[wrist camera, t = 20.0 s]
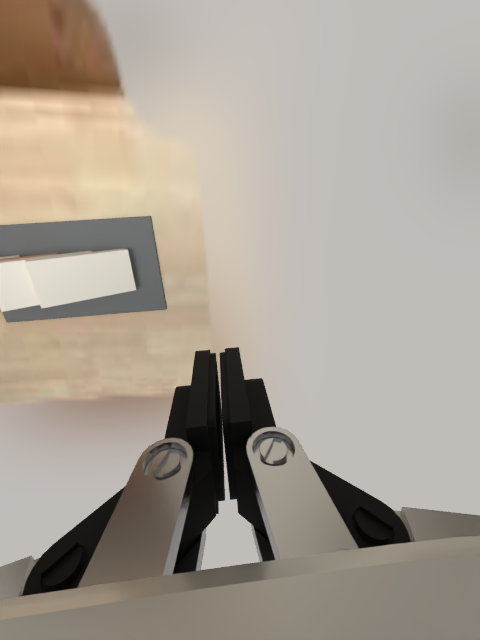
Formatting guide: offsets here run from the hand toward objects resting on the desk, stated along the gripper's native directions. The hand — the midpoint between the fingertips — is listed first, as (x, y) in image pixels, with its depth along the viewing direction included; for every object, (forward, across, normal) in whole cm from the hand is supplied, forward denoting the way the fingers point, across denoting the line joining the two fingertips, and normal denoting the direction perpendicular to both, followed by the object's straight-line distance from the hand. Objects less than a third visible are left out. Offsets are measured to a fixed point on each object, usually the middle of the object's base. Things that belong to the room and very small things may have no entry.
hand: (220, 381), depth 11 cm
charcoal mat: (+27, +18, 0) cm, 33 cm away
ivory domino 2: (+26, +11, 0) cm, 28 cm away
